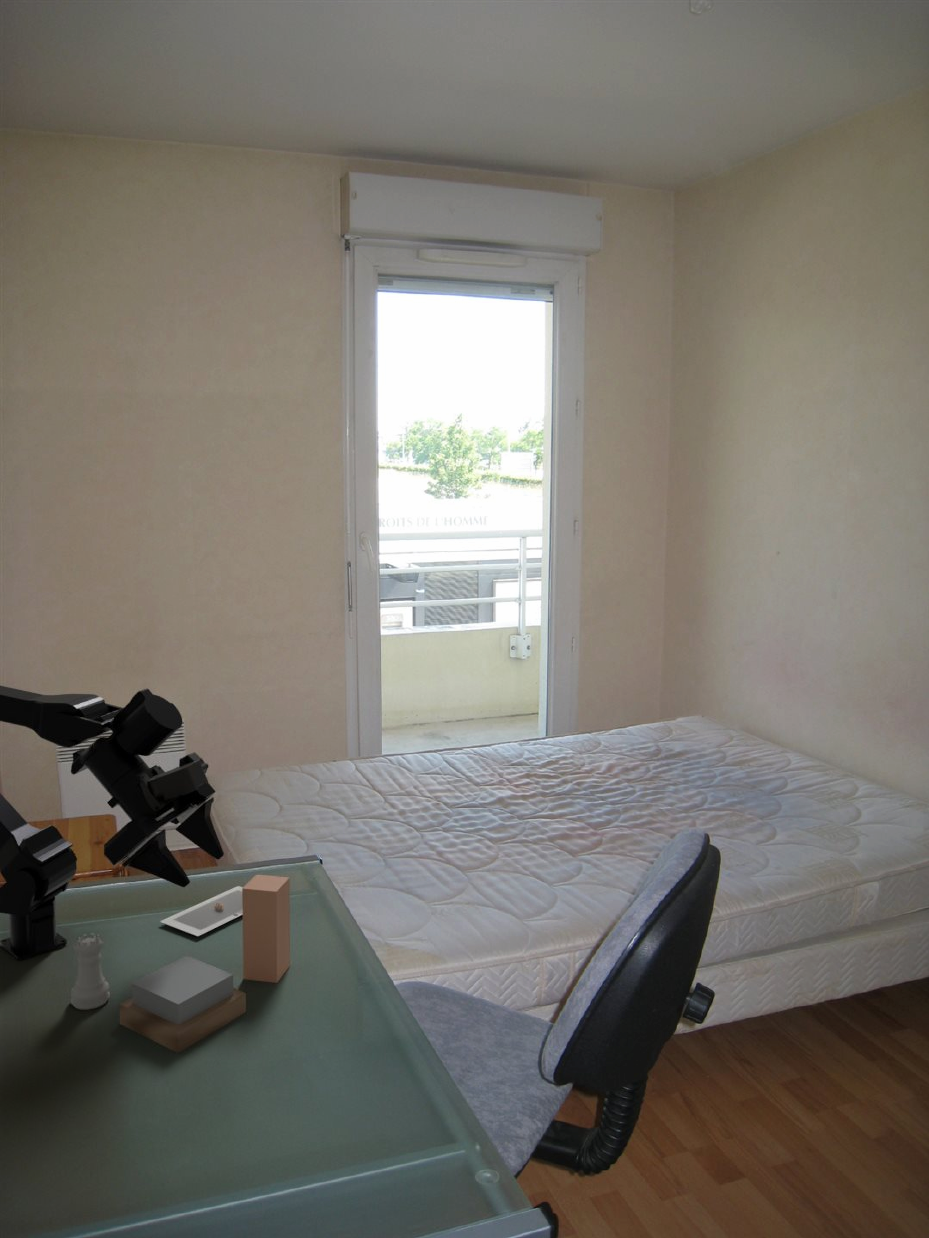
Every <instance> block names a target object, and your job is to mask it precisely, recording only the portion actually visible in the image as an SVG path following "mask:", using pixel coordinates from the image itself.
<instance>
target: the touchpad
mask: <svg viewBox="0 0 929 1238" xmlns="http://www.w3.org/2000/svg"><path fill="white" fill-rule="evenodd" d="M243 887H244V886H243ZM243 887H242V886H240V885H237V886H235V887H233V888H230V889H228V890H226V891H224V892H221V893H219V894H216V895H214V896H213V897H211V898H208V899H206V900H204V901H202V902H200V903H198V904H196V905H193V906H191V907H188V908H186V909H184V910H182V911H180V912H177V913H175V914H173V915H171V916H169V917H167V918H165V919H162V920H160V921H159V923H162V924H164V925H167V926H169V927H172V928H175V929H177V930H180V931H183V932H185V933H187V934H191V935H192V936H193V935H194V936H196V937H200V936H202V935H204V934H206V933H208V932H210V931H212V930H214V929H215V928H218V927H220V926H222V925H224V924H226V923H229V922H230V921H232V920H235V919H236V918H239V917H240V916H243V909H242V888H243Z"/></svg>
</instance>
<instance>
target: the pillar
mask: <svg viewBox="0 0 929 1238" xmlns="http://www.w3.org/2000/svg"><path fill="white" fill-rule="evenodd" d="M290 878H291V877H288V876H287V877H286V876H279V875H278V876H277V875H267V874H266V875H265V874H255V875H254V876H253V877H251V879H250V880H249V881H248V882H247V883H246V884H245V885H243V888H242V909H243V915H242V969H243V970H242V978H243V980H247V981H255V982H256V981H257V982H267V983H274V984H277V983H278V982H279V981H280V980H281V979H282V978H283V976H284V975H285V973H286V972H287V970H288V969H289V968H290V967H291V920H290V919H291V917H290V916H291V905H290V904H291V903H290V902H291V901H290V900H291V899H290V897H291V896H290V895H291V893H290V892H291V891H290V887H291V886H290V882H291V881H290Z"/></svg>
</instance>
